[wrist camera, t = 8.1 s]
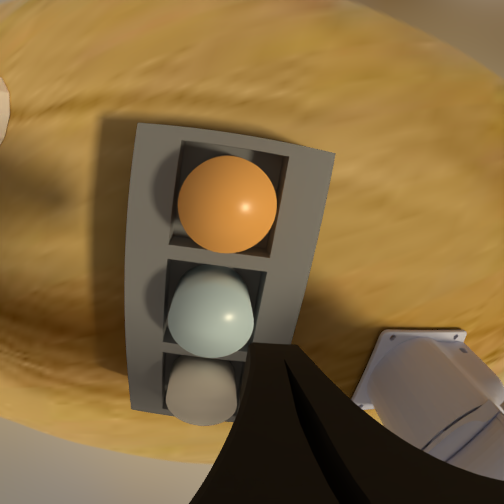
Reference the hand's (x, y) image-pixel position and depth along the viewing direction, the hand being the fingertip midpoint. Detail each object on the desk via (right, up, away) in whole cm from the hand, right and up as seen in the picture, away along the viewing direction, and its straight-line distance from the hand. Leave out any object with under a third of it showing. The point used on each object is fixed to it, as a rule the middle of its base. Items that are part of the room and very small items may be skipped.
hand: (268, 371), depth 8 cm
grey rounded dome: (-3, +1, +8) cm, 9 cm away
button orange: (-2, +6, +7) cm, 9 cm away
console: (-3, +1, +10) cm, 10 cm away
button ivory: (-3, -4, +10) cm, 11 cm away
